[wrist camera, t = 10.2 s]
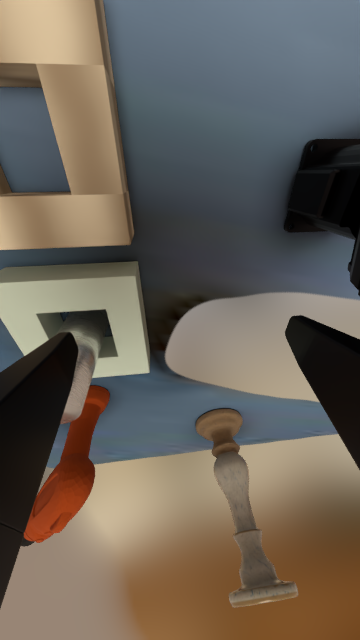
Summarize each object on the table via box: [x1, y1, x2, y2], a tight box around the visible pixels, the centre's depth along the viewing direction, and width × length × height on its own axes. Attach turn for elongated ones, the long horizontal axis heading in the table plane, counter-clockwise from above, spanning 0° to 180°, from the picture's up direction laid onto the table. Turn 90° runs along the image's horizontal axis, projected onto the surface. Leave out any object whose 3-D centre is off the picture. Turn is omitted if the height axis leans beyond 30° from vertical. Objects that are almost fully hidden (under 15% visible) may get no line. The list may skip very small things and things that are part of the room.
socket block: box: [0, 0, 134, 250], centre depth 13 cm, size 12×12×4 cm
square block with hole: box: [0, 261, 150, 378], centre depth 21 cm, size 12×12×4 cm
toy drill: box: [21, 385, 110, 546], centre depth 27 cm, size 5×19×15 cm, turn 140°
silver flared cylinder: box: [57, 309, 109, 424], centre depth 18 cm, size 4×4×11 cm
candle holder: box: [196, 409, 298, 607], centre depth 31 cm, size 9×9×20 cm
